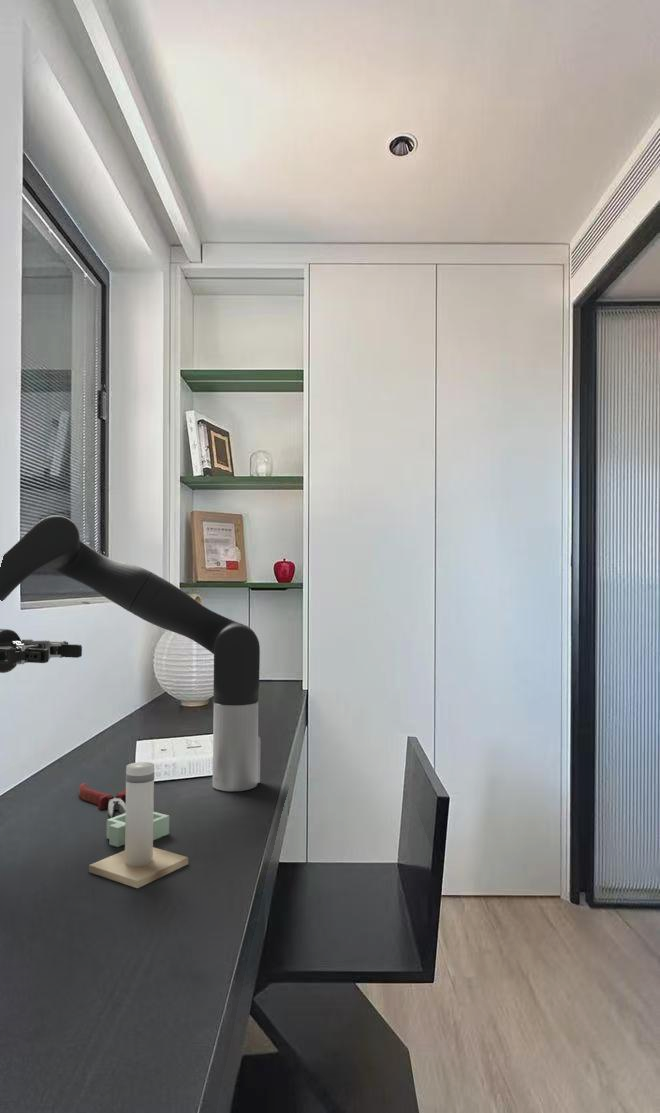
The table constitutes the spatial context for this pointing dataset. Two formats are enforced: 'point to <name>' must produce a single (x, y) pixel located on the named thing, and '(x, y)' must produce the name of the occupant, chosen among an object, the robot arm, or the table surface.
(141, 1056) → the table surface
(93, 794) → the pliers
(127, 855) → the thermos bottle
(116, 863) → the oak pad
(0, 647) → the robot arm
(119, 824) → the collar
